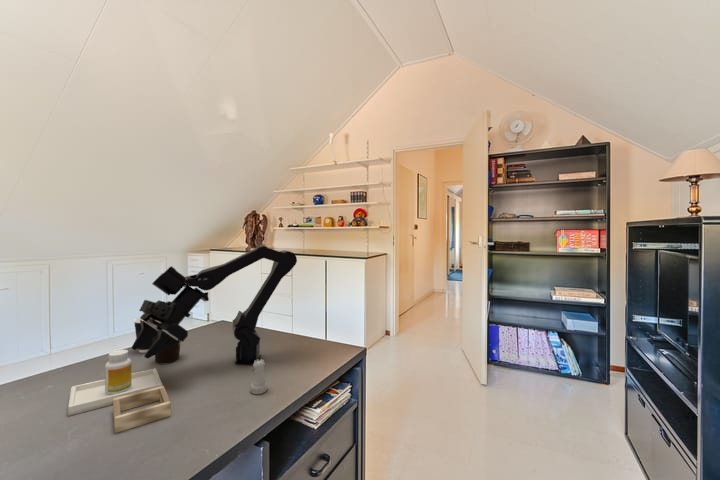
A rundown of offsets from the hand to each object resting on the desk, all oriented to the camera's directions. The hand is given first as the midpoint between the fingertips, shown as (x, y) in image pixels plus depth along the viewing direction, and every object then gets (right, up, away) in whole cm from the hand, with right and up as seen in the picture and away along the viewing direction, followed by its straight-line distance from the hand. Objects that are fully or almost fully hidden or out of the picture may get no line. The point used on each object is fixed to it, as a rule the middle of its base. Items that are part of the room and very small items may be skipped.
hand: (139, 353), depth 84 cm
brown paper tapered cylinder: (-3, -9, +19) cm, 21 cm away
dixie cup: (-15, -8, +25) cm, 31 cm away
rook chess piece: (+32, -10, -1) cm, 34 cm away
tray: (-3, -9, -3) cm, 10 cm away
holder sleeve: (+9, -9, -12) cm, 18 cm away
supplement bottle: (-3, -8, -3) cm, 9 cm away
